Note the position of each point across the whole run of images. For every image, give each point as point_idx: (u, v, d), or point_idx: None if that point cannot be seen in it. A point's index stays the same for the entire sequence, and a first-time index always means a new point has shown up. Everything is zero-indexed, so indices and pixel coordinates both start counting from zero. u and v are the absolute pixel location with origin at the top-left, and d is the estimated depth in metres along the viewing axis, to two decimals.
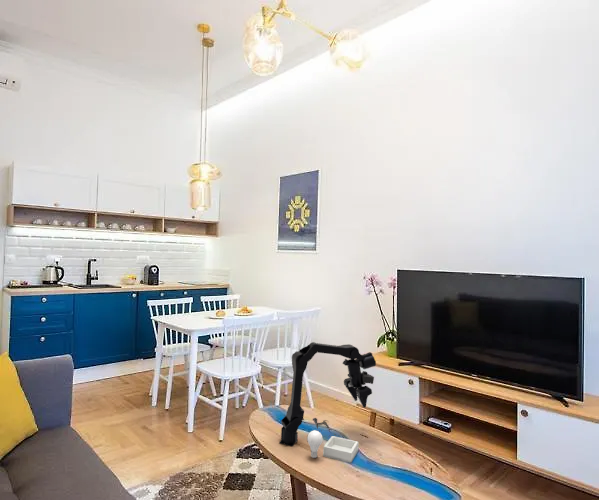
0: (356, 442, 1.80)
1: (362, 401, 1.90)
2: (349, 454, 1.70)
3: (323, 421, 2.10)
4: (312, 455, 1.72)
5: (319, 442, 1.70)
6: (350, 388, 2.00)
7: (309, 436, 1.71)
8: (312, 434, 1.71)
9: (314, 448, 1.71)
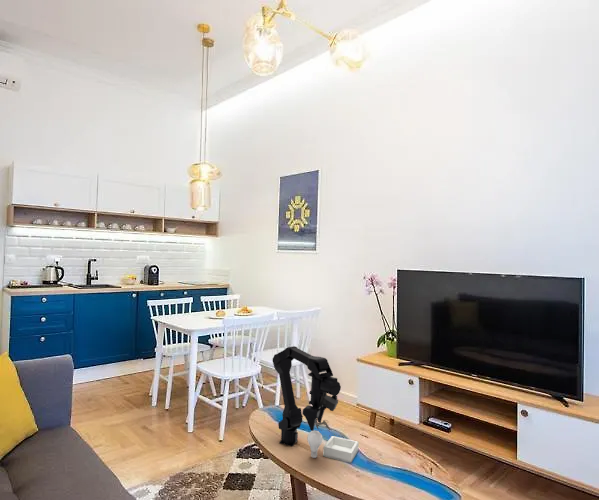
0: (356, 442, 1.80)
1: (309, 422, 1.68)
2: (349, 454, 1.70)
3: (323, 421, 2.10)
4: (312, 455, 1.72)
5: (319, 442, 1.70)
6: None
7: (309, 436, 1.71)
8: (312, 434, 1.71)
9: (314, 448, 1.71)
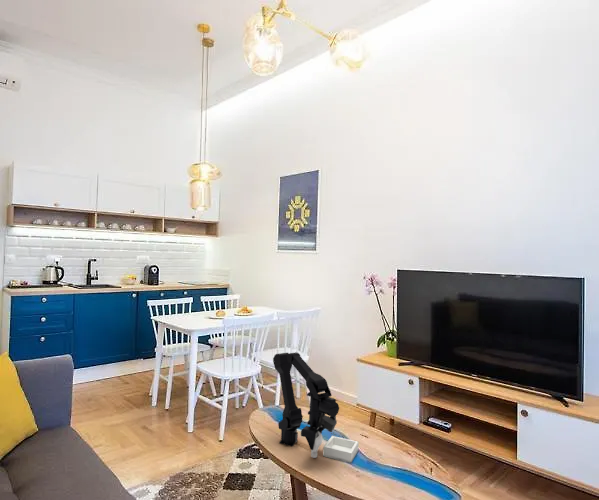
0: (356, 442, 1.80)
1: (308, 441, 1.69)
2: (349, 454, 1.70)
3: None
4: (312, 455, 1.72)
5: (319, 442, 1.70)
6: None
7: None
8: None
9: (314, 448, 1.71)
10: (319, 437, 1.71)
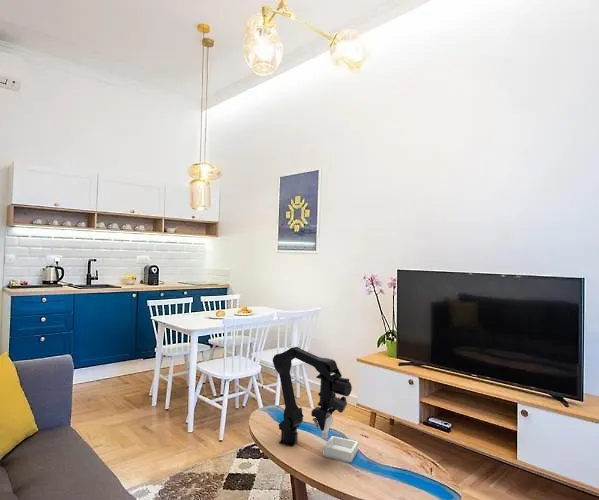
0: (356, 442, 1.80)
1: (319, 422, 1.71)
2: (349, 454, 1.70)
3: None
4: (323, 436, 1.73)
5: (330, 423, 1.72)
6: None
7: None
8: None
9: (325, 429, 1.73)
10: (329, 418, 1.72)
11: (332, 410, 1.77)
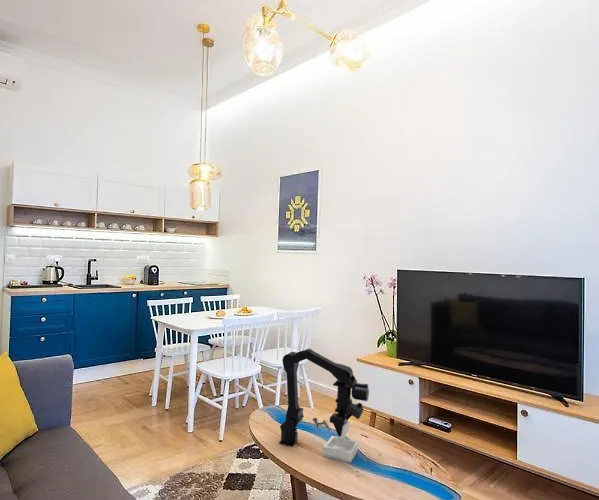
0: (356, 442, 1.80)
1: (336, 428, 1.74)
2: (349, 454, 1.70)
3: (323, 421, 2.10)
4: (339, 441, 1.77)
5: (347, 429, 1.75)
6: None
7: None
8: None
9: (342, 434, 1.76)
10: (346, 424, 1.76)
11: (348, 416, 1.81)
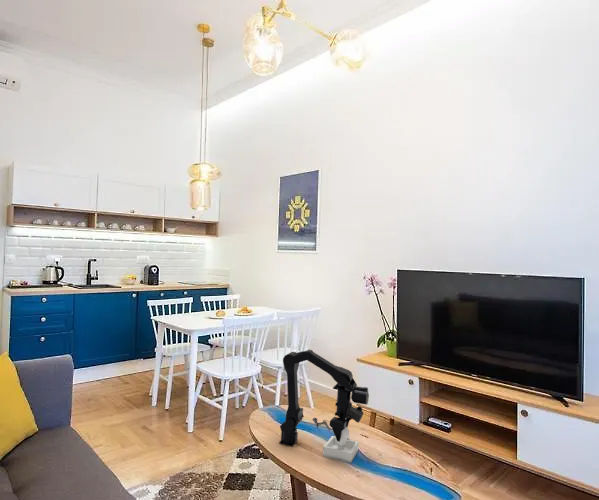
0: (356, 442, 1.80)
1: (335, 433, 1.73)
2: (349, 454, 1.70)
3: (323, 421, 2.10)
4: None
5: (346, 436, 1.75)
6: None
7: None
8: None
9: (341, 442, 1.76)
10: (346, 431, 1.76)
11: (349, 418, 1.82)
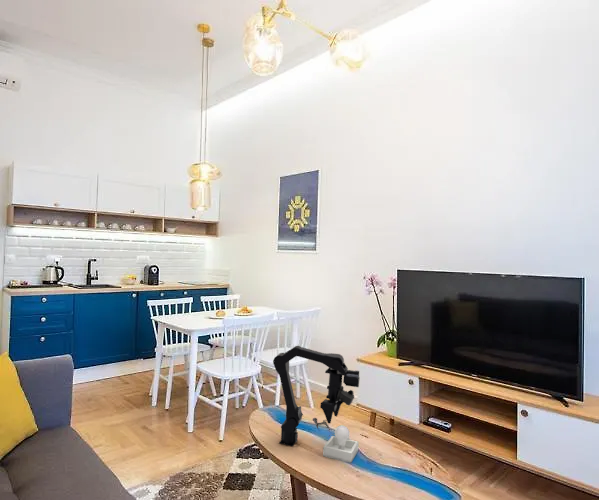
0: (356, 442, 1.80)
1: (326, 415, 1.77)
2: (349, 454, 1.70)
3: (323, 421, 2.10)
4: None
5: (346, 437, 1.75)
6: None
7: (336, 431, 1.76)
8: (340, 429, 1.76)
9: (341, 442, 1.76)
10: (346, 432, 1.75)
11: (340, 402, 1.86)
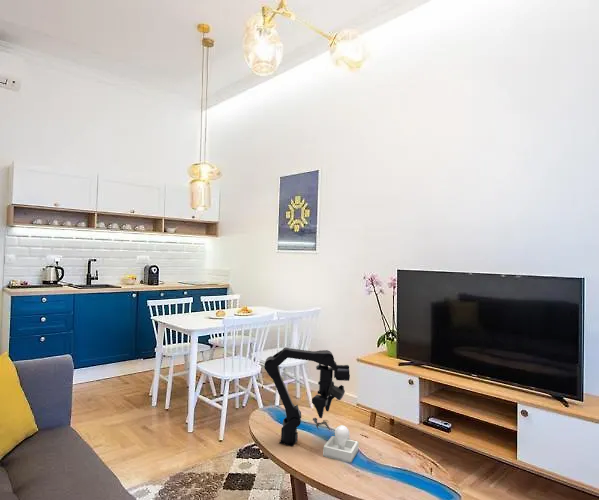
0: (356, 442, 1.80)
1: (318, 410, 1.81)
2: (349, 454, 1.70)
3: (323, 421, 2.10)
4: None
5: (346, 436, 1.75)
6: None
7: (336, 431, 1.76)
8: (340, 429, 1.76)
9: (341, 442, 1.76)
10: (346, 432, 1.75)
11: (332, 397, 1.90)
